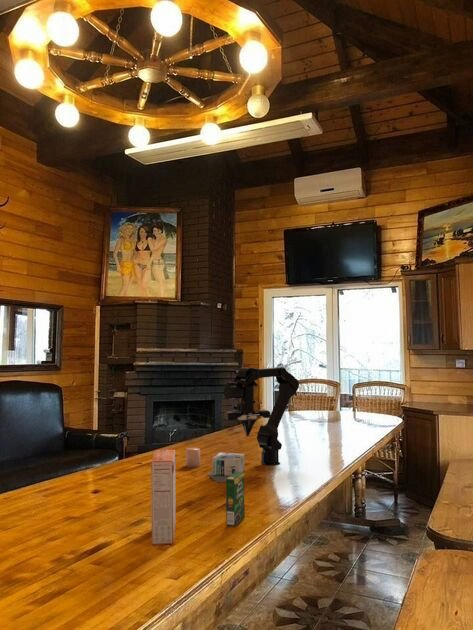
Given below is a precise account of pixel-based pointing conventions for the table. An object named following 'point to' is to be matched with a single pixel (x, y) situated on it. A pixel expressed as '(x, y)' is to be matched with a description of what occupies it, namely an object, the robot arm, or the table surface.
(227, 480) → the coffee box
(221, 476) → the mat
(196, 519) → the table surface
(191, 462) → the pink rounded capsule
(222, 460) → the light bulb box
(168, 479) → the cracker box
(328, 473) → the table surface
